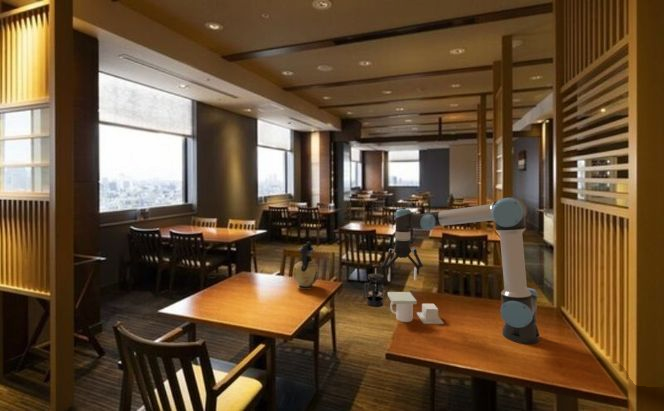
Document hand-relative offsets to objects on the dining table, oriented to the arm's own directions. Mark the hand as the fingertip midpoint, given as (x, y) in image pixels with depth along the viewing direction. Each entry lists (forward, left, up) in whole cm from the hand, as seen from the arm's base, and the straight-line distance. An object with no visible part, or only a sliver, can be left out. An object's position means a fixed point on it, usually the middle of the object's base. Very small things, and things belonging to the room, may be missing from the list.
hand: (402, 280), depth 182 cm
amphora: (+52, +52, -20) cm, 77 cm away
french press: (+21, +11, -20) cm, 31 cm away
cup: (0, 0, -20) cm, 20 cm away
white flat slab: (0, 0, -10) cm, 10 cm away
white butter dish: (0, -15, -20) cm, 25 cm away
